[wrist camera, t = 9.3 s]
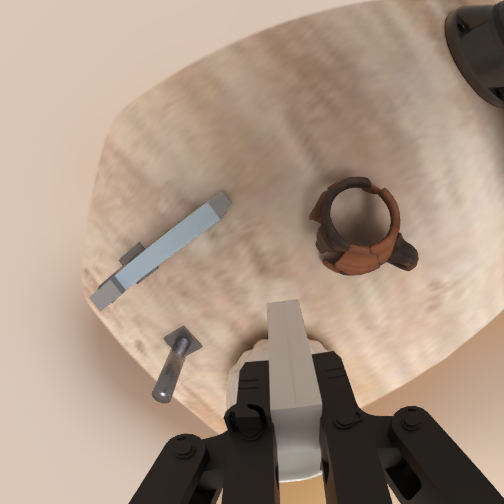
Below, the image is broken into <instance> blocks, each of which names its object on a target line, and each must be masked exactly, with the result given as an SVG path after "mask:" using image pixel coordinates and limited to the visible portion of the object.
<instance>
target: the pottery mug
mask: <svg viewBox="0 0 504 504" xmlns="http://www.w3.org/2000/svg"><path fill="white" fill-rule="evenodd" d="M354 187H356V188H357V187H358V188H362V189H363V190H364V191H366V192H369V193H372V194H378V195H379V196H380V197H381V198H382V200H383V201H384V202H385V203H386V205H387V207H388V209H389V212H390V216H391V225H390V230H389V232H388V234H387V235H386V237H385V238H383V240H381V241H380V242H378V243H377V244H374V245H370V246H360V245H356V244H353V243H349V242H348V241H347V240H345V239H344V238H343V237H341V236H340V235H339V233H338V232H337V231H336V229H335V227H334V225H333V223H332V220H331V217H330V210H331V205H332V202H333V200H334V199H335V197H336V196H337V195H338V194H339V193H340V192H342V191H344V190H346V189H349V188H354ZM309 219H310V220H314V221H317V222H319V223H321V226H320V228H319V229H318V232H317V241H316V247H317V249H318V250H319V252H320V253H322V254H323V253H325V252H326V251H327V252H334V251H341V252H344V253H343V254H342V256H341V258H340V259H339V260H338V261H336V262H335V265H333V264H331V263H330V262H328V261H327V260H324V261H323V264H324V265H325V266H326V267H327V268H328V269H330V270H332V271H334V272H336V273H340V274H342V275H362V274H365V273H369V272H371V271H374V270H376V269H378V268H379V267H380V265H382V264H384V263H385V262H388V263H390V264H392V265H394V266H396V267H398V268H400V269H403V270H406V271H410V270H412V269H413V268H415V267H416V266H417V261H418V252H417V250H416V249H415V248H414V247H413V246H412V245H411V244H409V243H407V242H406V241H405V240H404V239H403V237H402V235H401V233H399V229H400V212H399V208H398V205H397V203H396V201H395V199H394V197H393V196H392V195H391V193H390V192H389V191H388V190H387V189H386V188H383V189H382V190H380V189H379V188H378V187H376V186H375V185H373V184H372V183H371V182H370V180H369V179H368V178H364V177H351V178H347V179H344V180H342V181H340V182H337V183H335V184H333V185H331V186H330V187H328V190H327V191H325V192H323V193H322V194H321V196H320V198H319V200H318V201H317V204H316V206H315V207H314V209H313V211H312V212H311V214H310V217H309Z"/></svg>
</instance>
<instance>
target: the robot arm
mask: <svg viewBox="0 0 504 504" xmlns="http://www.w3.org/2000/svg"><path fill="white" fill-rule="evenodd" d="M445 32H446V38H447V42H448V45H449V48H450V51H451V53H452V56H453V58H454V60H455V62H456V64H457V66H458V67H459V69H460V71H461V73H462V74H463V76H464V77H465V79H466V80H467V81H468V83H469V84H470V85H471V87H472V88H473V89H474V90H475V91H476V92H477V93H478V94H479V95H480V96H481V97H482V98H483V99H484V100H486V101H487V102H489V103H490V104H492V105H495V106H498V107H504V1H502V2H500V3H497V4H495V5H483V6H463V7H460V8H458V9H456V10H455V11H453V12H452V13H450V14H449V15H448V17H447V19H446V24H445ZM267 318H268V347H269V360H264V361H252V362H245V363H244V365H243V366H242V368H241V369H240V371H239V382H238V391H237V401H236V404H235V405H232V406H231V407H230V408H229V409H228V410H227V411H226V413H225V416H224V420H225V423H226V426H227V429H228V430H227V431H226V432H224V433H222V434H220V435H217V436H214V437H210V438H207V439H202V440H201V439H200V438H199V437H197V436H195V435H193V434H181V435H177V436H175V437H173V438H171V439H170V440H169V441H168V442H167V443H166V445H165V446H164V448H163V450H162V451H161V453H160V454H159V456H158V458H157V459H156V461H155V462H154V464H153V466H152V467H151V469H150V470H149V472H148V474H147V475H146V477H145V479H144V480H143V482H142V483H141V485H140V487H139V488H138V490H137V491H136V493H135V494H134V496H133V497H132V499H131V501H130V502H129V504H216V502H217V500H218V497H219V495H220V493H221V490H222V488H223V494H222V504H280V490H279V466H278V455H277V454H278V453H289V452H298V451H306V450H314V449H319V448H320V450H321V463H320V470H322V474H323V481H324V489H325V496H326V504H392V500H391V497H390V493H389V490H388V486H387V484H388V485H389V487H390V488H391V490H392V491H393V493H394V494H395V496H396V497H397V499H398V500H399V502H400V503H401V504H504V498H503V497H502V496H501V494H500V493H499V492H498V491H497V490H496V489H495V487H494V486H493V485H492V484H491V483H490V482H489V480H488V479H487V478H486V477H485V476H484V475H483V474H482V472H481V471H480V470H479V469H478V468H477V467H476V466H475V464H474V463H473V462H472V461H471V460H470V459H469V458H468V457H467V455H466V454H465V453H464V452H463V451H462V450H461V449H460V448H459V446H458V445H457V444H456V443H455V442H454V441H453V440H452V439H451V438H450V437H449V436H448V434H447V433H446V432H445V431H444V430H443V429H442V428H441V426H440V425H439V424H438V423H437V422H436V421H435V420H434V419H433V418H432V417H431V415H429V413H428V412H427V411H425V410H424V409H422V408H420V407H416V406H407V407H404V408H401V409H400V410H398V411H397V412H396V413H395V414H394V416H374V415H370V414H367V413H365V412H364V411H362V410H361V409H360V408H359V407H358V405H357V403H356V400H355V397H354V394H353V391H352V388H351V385H350V382H349V379H348V376H347V374H346V371H345V369H344V365H343V362H342V359H341V358H340V357H339V356H338V355H337V354H336V353H335V352H334V351H330V352H323V353H317V354H311V351H310V347H309V342H308V338H307V334H306V330H305V325H304V321H303V317H302V313H301V309H300V305H299V301H298V300H291V301H283V302H274V303H267Z"/></svg>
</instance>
